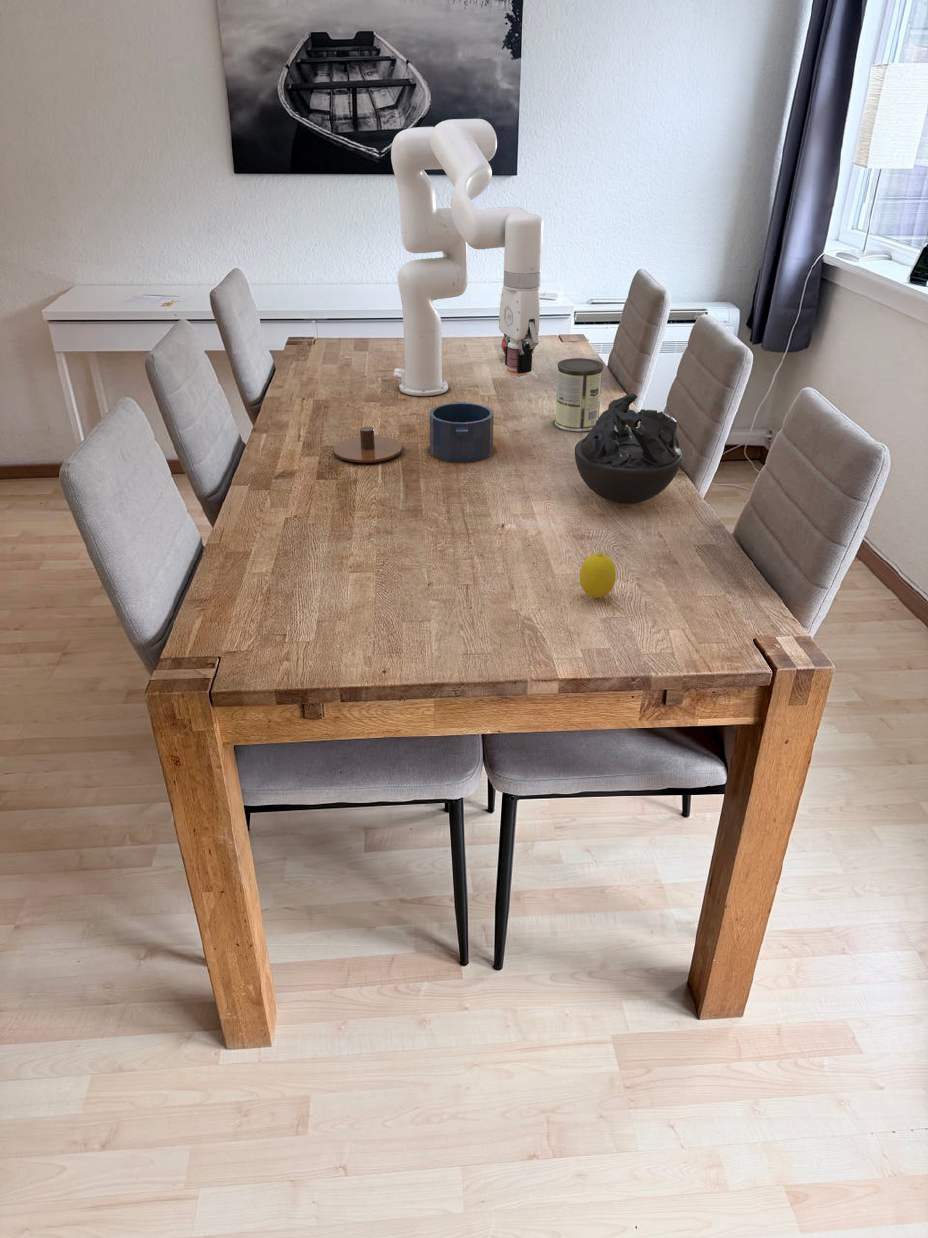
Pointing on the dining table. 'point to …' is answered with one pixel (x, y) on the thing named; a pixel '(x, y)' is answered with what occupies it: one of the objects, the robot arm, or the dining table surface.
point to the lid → (367, 447)
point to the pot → (461, 432)
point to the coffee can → (578, 394)
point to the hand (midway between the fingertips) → (518, 367)
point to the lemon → (598, 575)
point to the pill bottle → (514, 357)
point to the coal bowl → (629, 453)
